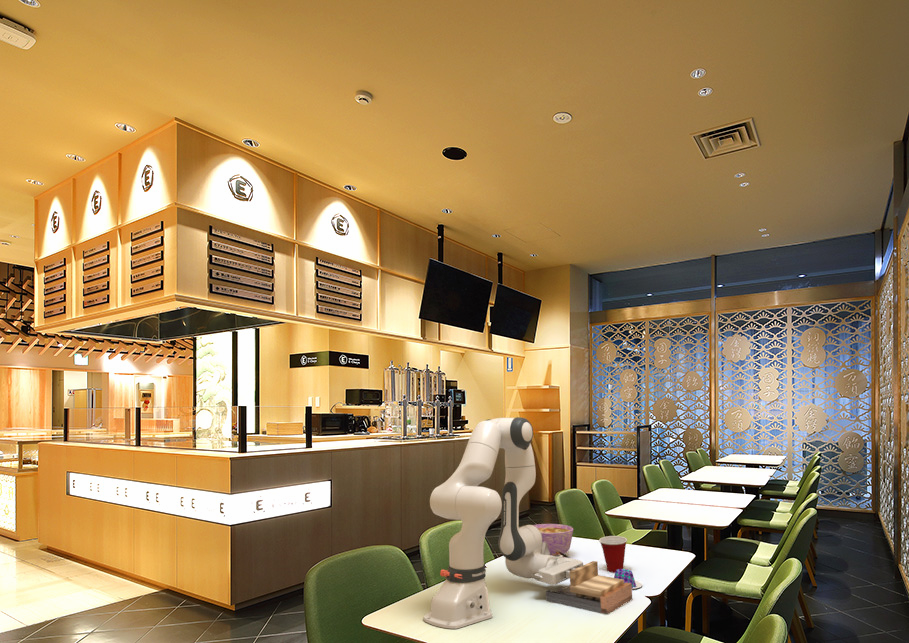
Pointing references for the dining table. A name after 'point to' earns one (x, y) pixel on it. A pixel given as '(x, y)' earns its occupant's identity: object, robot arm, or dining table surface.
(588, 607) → the track
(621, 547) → the plastic cup
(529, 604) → the dining table surface
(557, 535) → the bowl of food
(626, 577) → the pudding
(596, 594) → the tan slatted block
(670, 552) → the dining table surface
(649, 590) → the dining table surface
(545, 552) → the tea bag
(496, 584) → the dining table surface
